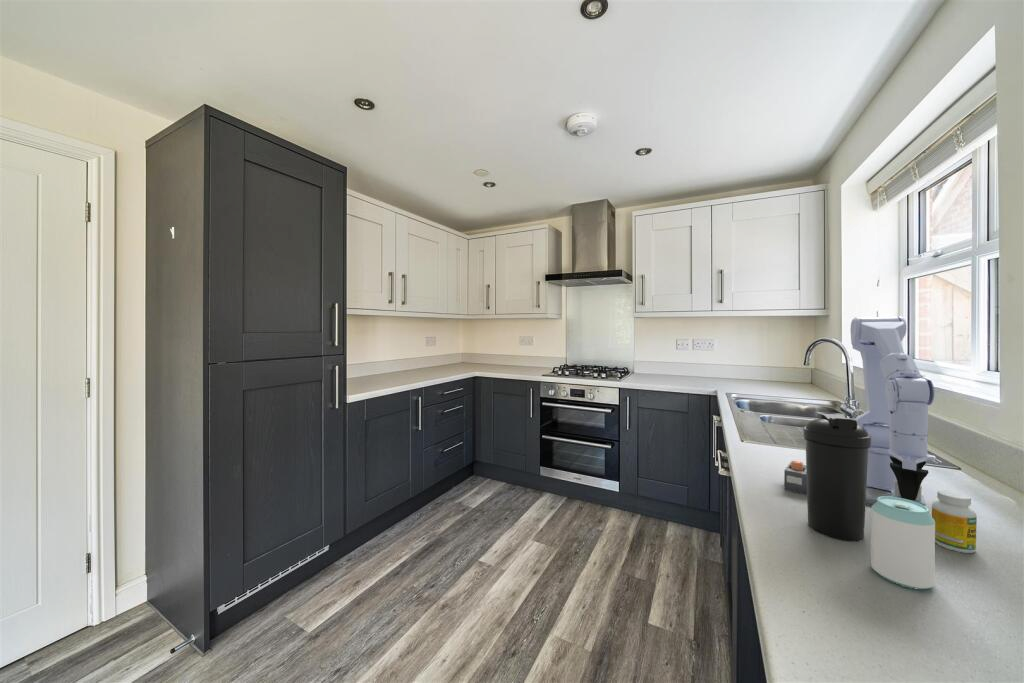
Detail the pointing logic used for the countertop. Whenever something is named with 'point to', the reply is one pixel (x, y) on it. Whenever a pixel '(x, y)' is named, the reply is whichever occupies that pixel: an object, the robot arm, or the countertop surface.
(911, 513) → the can
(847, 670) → the countertop surface
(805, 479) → the cabinet
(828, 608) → the countertop surface
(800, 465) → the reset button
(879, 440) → the robot arm
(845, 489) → the water bottle
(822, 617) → the countertop surface
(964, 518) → the supplement bottle
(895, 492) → the carriage
